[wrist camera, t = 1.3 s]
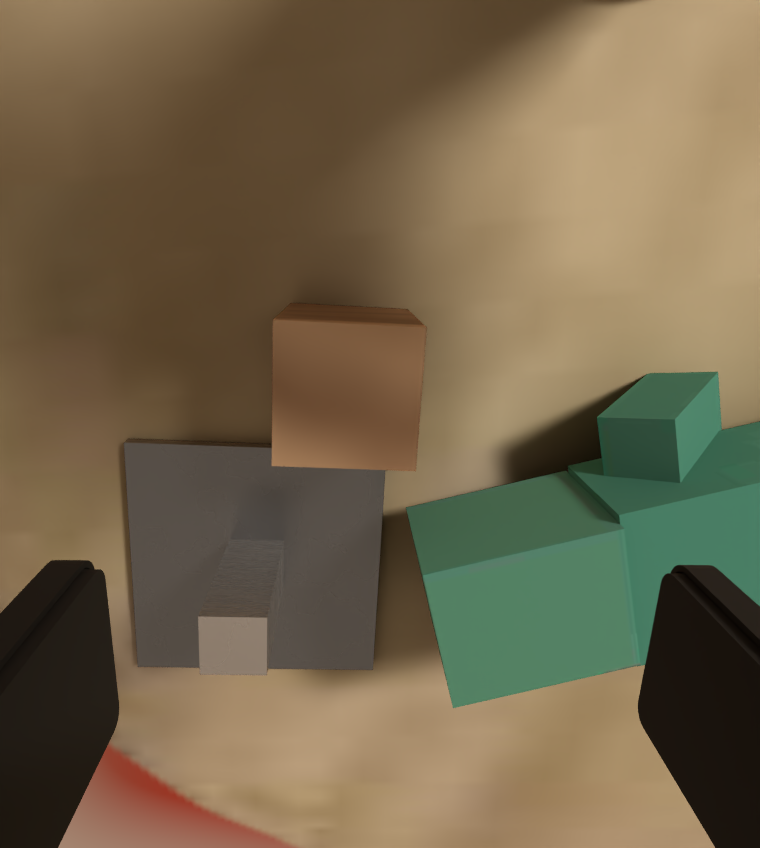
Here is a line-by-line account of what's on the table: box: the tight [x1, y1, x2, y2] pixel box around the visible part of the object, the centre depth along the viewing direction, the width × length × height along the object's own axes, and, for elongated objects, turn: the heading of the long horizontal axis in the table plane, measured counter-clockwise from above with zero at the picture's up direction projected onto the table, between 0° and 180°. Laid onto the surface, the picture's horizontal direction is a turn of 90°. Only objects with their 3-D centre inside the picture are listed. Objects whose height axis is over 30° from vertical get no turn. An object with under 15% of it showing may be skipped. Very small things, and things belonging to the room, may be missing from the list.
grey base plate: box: [124, 439, 385, 675], centre depth 27 cm, size 12×12×7 cm
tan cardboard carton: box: [272, 303, 427, 471], centre depth 24 cm, size 5×5×7 cm
